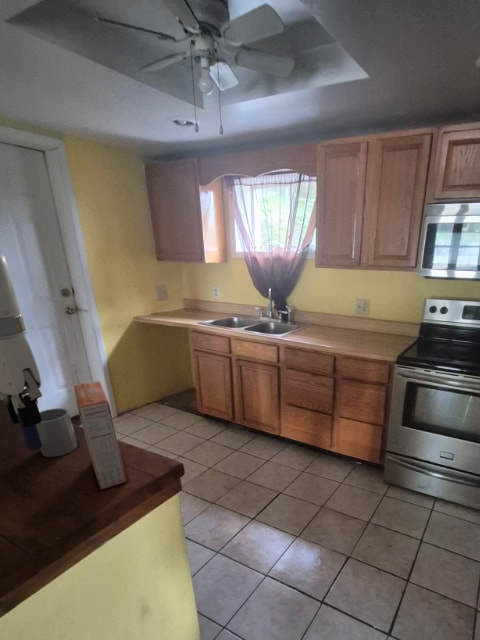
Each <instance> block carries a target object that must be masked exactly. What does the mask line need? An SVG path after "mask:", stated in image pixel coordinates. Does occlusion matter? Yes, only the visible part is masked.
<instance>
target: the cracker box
mask: <svg viewBox="0 0 480 640" xmlns="http://www.w3.org/2000/svg"><path fill="white" fill-rule="evenodd" d="M73 390H74V396H75V401H76V406H77V412H78V415H79V419H80V423H81V427H82V430H83V434H84V438H85V442H86V446H87V448H88V452H89V456H90V459H91V462H92V463H91V464H92V466H93V470H94V473H95V476H96V479H97V483H98V486H99V489H100V490H106V489H109V488H112V487H115V486H119V485H122V484H125V483H127V482H128V480H127V477H126V473H125V467H124V464H123V460H122V455H121V451H120V447H119V442H118V438H117V434H116V429H115V424H114V419H113V416H112V411H111V406H110V402H109V400H108V398H107V397H108V396H107V395H106V393H105V390H104V388H103V385H102V382H101V381H99V380H98V381H94V382H88V383H81V384H76V385H73Z"/></svg>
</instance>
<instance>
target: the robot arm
mask: <svg viewBox="0 0 480 640" xmlns="http://www.w3.org/2000/svg"><path fill="white" fill-rule="evenodd" d="M27 333H28V332H27V329H26V324H25V322H24V317H23V315H22V311H21V308H20V304H19V301H18V297H17V294H16V290H15V286H14V282H13V279H12V276H11V272H10V268H9V264H8V261H7V259H6V257H5V255H4V254H3V253H2V252H1V251H0V394H1V397H2V400H3V403H4V404H5V406H6V409H7V412H8V416H9V419H10V420H11V423H12V424H13V425H17V424H19V421H18V418H17V415H16V412H15V409H14V406H13V403H12V400H11V397H12V396H15V397H16V400H17V403H18V406H19V408H17V411H18V414H19V417H20V420H21V423H22V426H23V427H24V428H28V427H30V426H33V425H35V424H38V423H40V422H41V421H42V419H41V416H40V413H39V412H40V410H39V406H38V403H39V401H38V399H40V398H42V396H43V394H42V392H41V390H40V388H41V387H42V380H41V375H40V370H39V368H38V365H37V362H36V359H35V356H34V353H33V351H32V348H31V345H30V343H29V341H28V339H27V336H26V334H27ZM24 394H27V395H26V396H24V398H23V397H22V395H24Z"/></svg>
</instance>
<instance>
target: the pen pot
mask: <svg viewBox="0 0 480 640" xmlns="http://www.w3.org/2000/svg"><path fill="white" fill-rule="evenodd" d="M39 413H40V416H41V419H42V421H41V422H40V423H38V424H36V426H37V430H38V433H39V436H40V440H41V443H42V447H41V448H40V449H39V451H40V453H41V455H42V456H44V457H46V458H55V457H60V456H65V455H66V454H69V453H71V452H73V451H74V450H75V449H76V448H77V447H78V441H77V437H76V434H75V430H74V426H73V422H72V418H71V414H70V411H69V410H68V409H67V408H62V407H61V408H59V407H58V408H57V407H56V408H50V409H46V410H42V411H39Z"/></svg>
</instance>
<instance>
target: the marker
mask: <svg viewBox="0 0 480 640" xmlns="http://www.w3.org/2000/svg"><path fill="white" fill-rule="evenodd" d="M26 395H28V393H27V394H24V395H22V397H23V398H24V396H26ZM11 400H12V403H13V406H14V409H15V412H16V415H17V418H18V421H19V423H18V424H19V428H20V430H21V433H22V436H23V439H24V442H25V446H26V449H27V451H30V452H31V451H37V450H40V448H41V447H42V443H41V440H40V436H39V433H38V430H37V426H36V424H35V425H33V426H30V427H28V428H24V427H23V426H22V423H21V420H20V417H19V414H18V411H17V408H19V406H18V403H17V400H16V397H15V396H12V397H11Z"/></svg>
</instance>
